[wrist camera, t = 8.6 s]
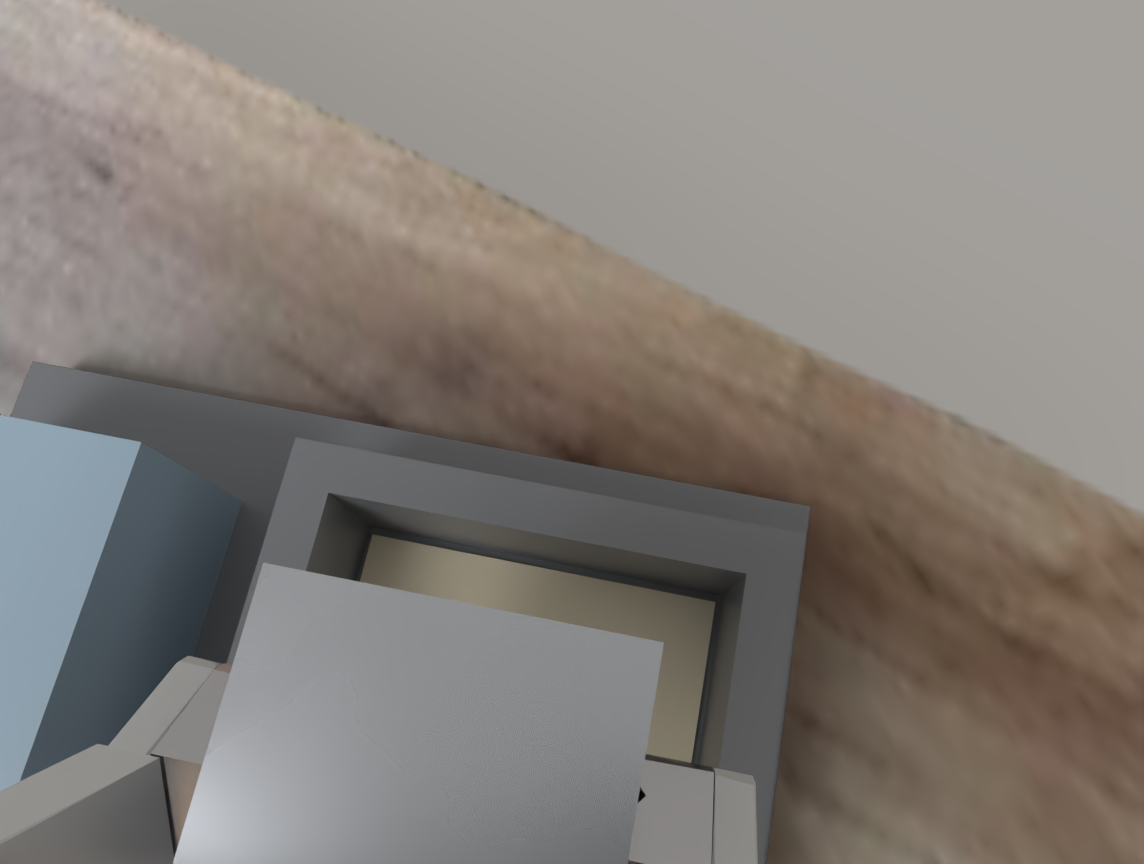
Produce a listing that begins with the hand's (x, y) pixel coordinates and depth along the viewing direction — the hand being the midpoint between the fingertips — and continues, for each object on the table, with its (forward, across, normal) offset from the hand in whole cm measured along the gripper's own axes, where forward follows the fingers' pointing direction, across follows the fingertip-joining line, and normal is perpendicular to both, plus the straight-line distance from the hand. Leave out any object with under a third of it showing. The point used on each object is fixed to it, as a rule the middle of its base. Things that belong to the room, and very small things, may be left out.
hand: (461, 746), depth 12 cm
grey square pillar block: (+3, 0, +4) cm, 5 cm away
